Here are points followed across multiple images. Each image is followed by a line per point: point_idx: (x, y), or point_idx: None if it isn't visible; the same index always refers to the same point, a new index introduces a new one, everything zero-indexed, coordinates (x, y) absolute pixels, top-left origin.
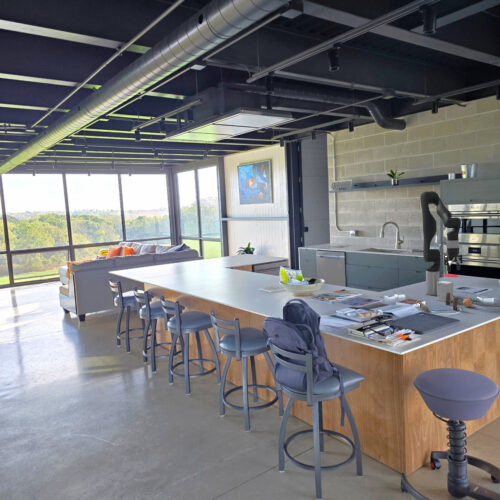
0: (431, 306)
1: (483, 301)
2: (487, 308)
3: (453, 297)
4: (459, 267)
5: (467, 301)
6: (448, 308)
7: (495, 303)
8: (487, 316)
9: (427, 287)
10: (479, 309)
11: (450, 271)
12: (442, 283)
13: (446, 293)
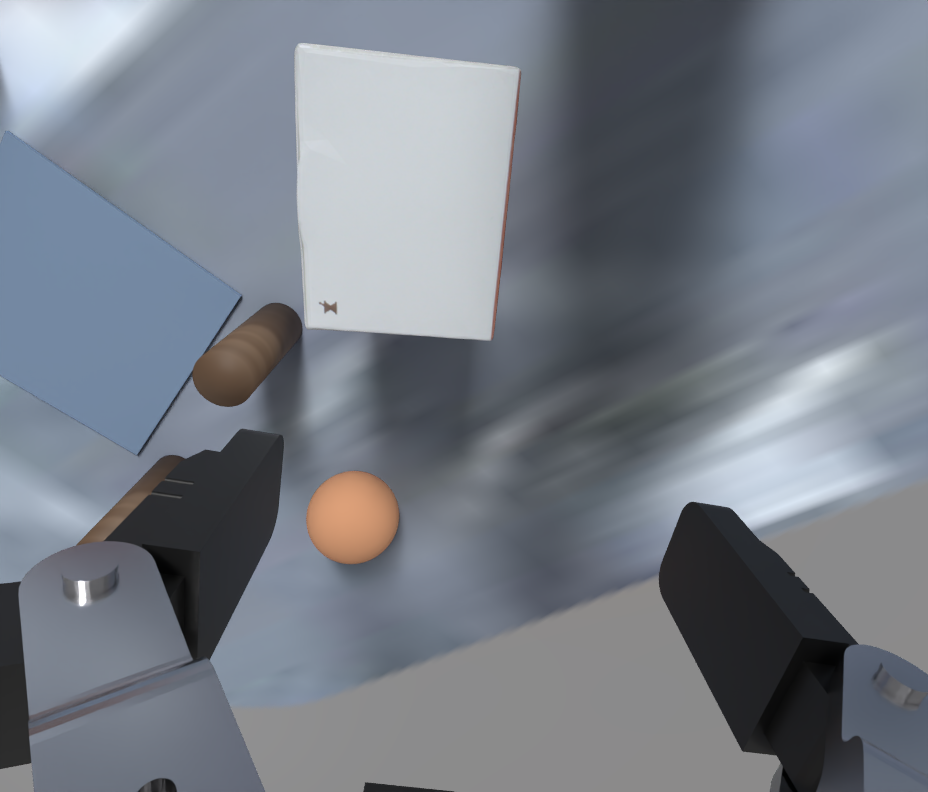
0: (44, 247)
1: (668, 486)
2: (443, 606)
3: (85, 543)
4: (705, 657)
5: (315, 546)
6: (148, 415)
7: (655, 577)
8: (232, 689)
9: None
10: (364, 584)
11: (274, 519)
12: (300, 208)
13: (193, 370)
